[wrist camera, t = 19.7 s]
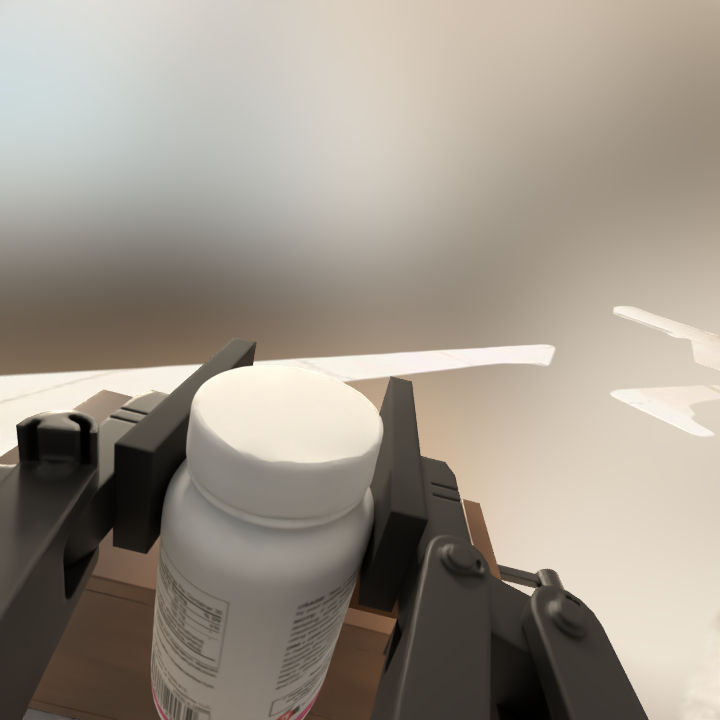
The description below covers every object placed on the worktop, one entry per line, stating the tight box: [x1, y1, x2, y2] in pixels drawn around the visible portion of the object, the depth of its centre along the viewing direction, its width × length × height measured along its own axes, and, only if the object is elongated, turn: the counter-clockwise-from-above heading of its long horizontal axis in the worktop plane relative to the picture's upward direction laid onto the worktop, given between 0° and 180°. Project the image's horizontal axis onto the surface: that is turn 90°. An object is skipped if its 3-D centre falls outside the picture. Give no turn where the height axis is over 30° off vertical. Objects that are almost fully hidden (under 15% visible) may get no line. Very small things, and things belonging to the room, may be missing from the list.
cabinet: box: [0, 390, 161, 720], centre depth 22 cm, size 15×12×10 cm
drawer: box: [303, 499, 564, 720], centre depth 22 cm, size 19×10×8 cm, turn 86°
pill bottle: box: [151, 365, 383, 720], centre depth 10 cm, size 5×5×8 cm
